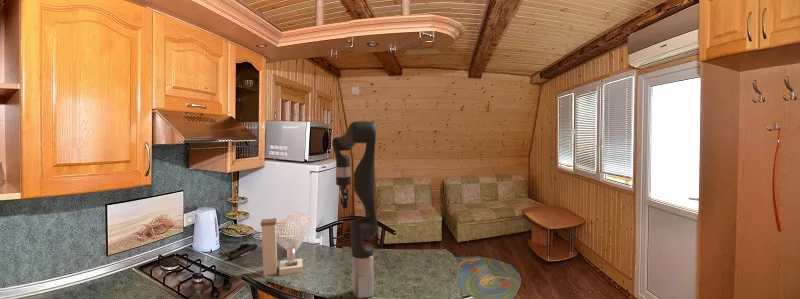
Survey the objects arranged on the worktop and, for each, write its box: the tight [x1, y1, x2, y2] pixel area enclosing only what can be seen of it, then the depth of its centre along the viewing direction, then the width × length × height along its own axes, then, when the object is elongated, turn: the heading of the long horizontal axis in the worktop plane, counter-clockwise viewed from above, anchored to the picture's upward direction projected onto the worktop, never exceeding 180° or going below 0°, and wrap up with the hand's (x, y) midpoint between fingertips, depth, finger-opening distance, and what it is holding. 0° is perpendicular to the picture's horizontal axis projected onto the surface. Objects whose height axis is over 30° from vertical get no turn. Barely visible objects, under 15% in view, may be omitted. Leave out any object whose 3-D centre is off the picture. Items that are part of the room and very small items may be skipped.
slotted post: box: [260, 217, 304, 276], centre depth 161 cm, size 11×19×27 cm, turn 108°
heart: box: [276, 211, 312, 253], centre depth 185 cm, size 28×16×22 cm, turn 173°
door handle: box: [219, 243, 258, 261], centre depth 186 cm, size 3×20×16 cm
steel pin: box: [286, 246, 296, 267], centre depth 163 cm, size 4×4×11 cm
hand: (344, 206), depth 165 cm, fingers open, 8 cm apart
